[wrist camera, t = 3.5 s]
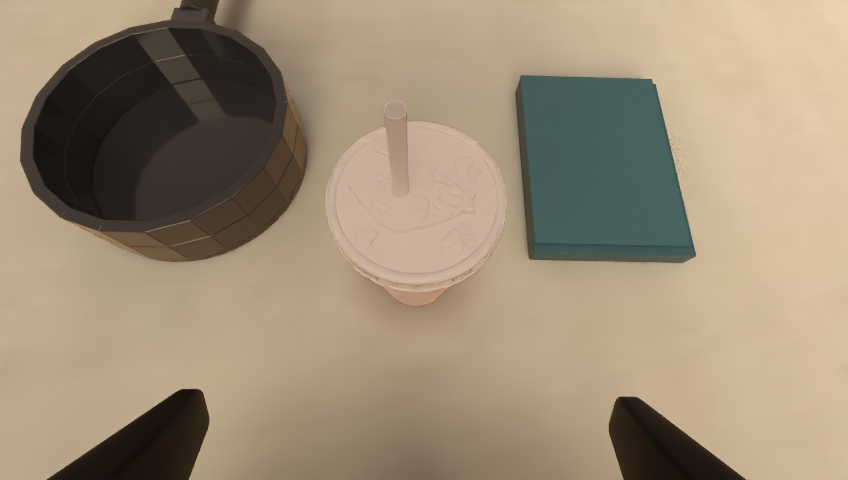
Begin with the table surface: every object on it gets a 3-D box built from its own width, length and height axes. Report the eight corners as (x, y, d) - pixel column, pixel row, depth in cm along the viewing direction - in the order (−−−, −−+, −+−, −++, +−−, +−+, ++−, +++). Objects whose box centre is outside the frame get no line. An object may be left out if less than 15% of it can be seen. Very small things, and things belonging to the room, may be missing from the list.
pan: (292, 264, 23) (265, 235, 19) (56, 259, 23) (-24, 228, 19) (318, 79, 28) (300, 23, 24) (123, 74, 28) (70, 16, 23)
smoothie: (370, 215, 24) (319, 2, 11) (477, 229, 24) (552, 31, 11) (348, 322, 22) (251, 213, 9) (466, 339, 22) (545, 254, 9)
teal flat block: (683, 262, 24) (700, 254, 22) (528, 259, 23) (536, 251, 22) (645, 94, 28) (658, 79, 26) (515, 91, 28) (520, 75, 26)
